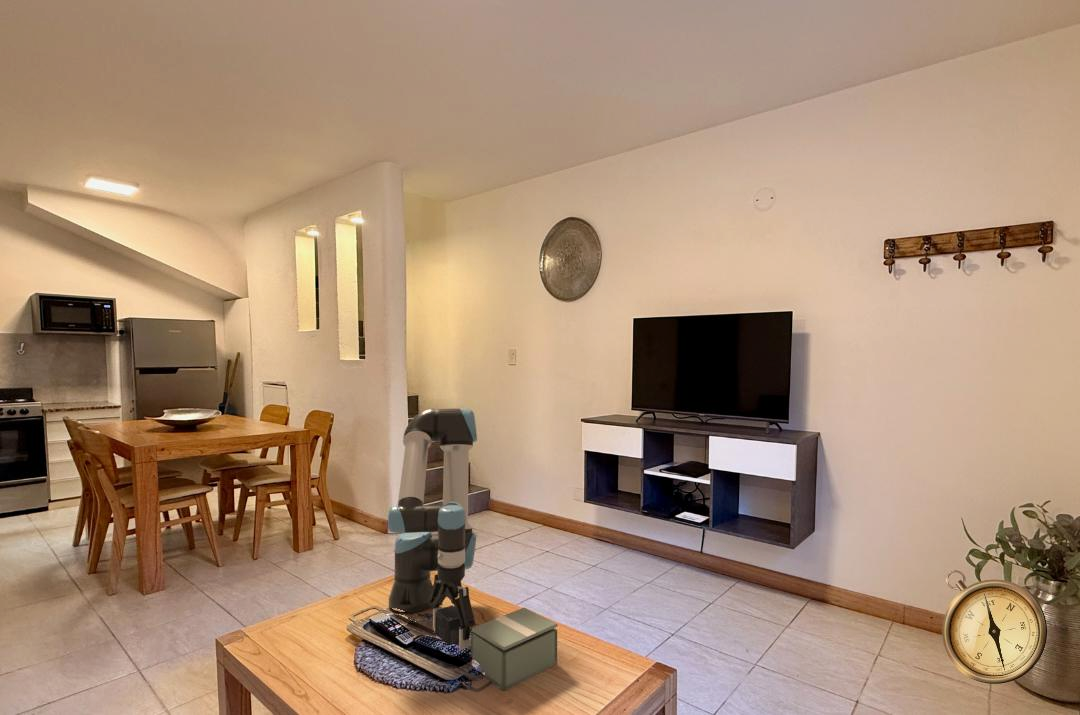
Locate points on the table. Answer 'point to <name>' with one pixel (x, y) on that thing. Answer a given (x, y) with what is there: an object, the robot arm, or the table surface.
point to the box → (447, 625)
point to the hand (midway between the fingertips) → (450, 640)
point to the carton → (515, 658)
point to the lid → (514, 628)
